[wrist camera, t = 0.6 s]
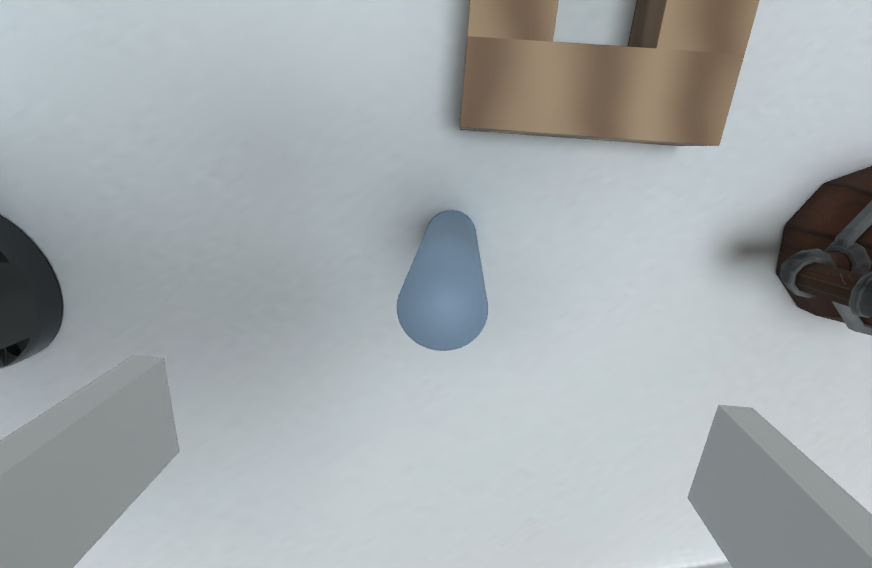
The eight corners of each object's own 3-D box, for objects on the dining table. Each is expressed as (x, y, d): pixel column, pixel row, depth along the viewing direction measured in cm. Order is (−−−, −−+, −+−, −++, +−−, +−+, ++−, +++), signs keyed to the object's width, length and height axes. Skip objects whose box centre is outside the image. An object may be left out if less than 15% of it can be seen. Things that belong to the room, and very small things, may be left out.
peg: (425, 257, 34) (395, 346, 19) (428, 208, 33) (398, 262, 17) (473, 261, 34) (482, 354, 19) (478, 212, 32) (493, 270, 17)
